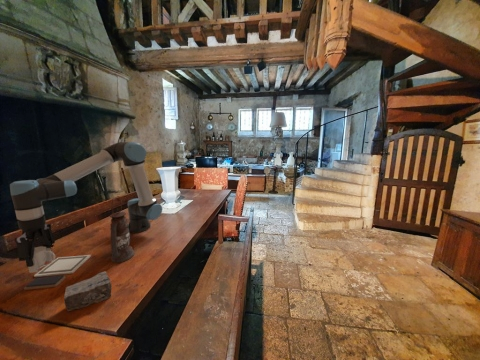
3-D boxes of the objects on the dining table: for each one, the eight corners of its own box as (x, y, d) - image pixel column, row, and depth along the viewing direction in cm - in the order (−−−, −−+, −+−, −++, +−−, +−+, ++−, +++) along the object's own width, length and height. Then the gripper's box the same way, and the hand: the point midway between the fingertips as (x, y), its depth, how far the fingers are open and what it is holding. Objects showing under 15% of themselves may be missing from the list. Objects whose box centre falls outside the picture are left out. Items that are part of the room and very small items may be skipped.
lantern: (103, 266, 93) (94, 202, 86) (120, 248, 108) (113, 193, 102) (126, 265, 94) (118, 201, 87) (139, 247, 110) (133, 192, 103)
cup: (33, 263, 81) (30, 247, 80) (61, 260, 84) (58, 244, 83) (20, 273, 75) (16, 256, 73) (50, 269, 78) (47, 252, 76)
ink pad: (65, 277, 85) (65, 274, 84) (56, 286, 79) (55, 283, 79) (36, 280, 83) (35, 277, 82) (24, 289, 77) (23, 286, 77)
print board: (90, 256, 101) (90, 254, 101) (72, 273, 88) (72, 271, 87) (58, 258, 98) (57, 257, 98) (34, 277, 85) (33, 275, 85)
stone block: (111, 284, 81) (109, 269, 80) (113, 297, 75) (110, 281, 73) (69, 300, 73) (65, 283, 71) (66, 316, 66) (62, 298, 64)
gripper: (41, 209, 84) (50, 254, 88) (-7, 228, 65) (7, 283, 69) (60, 208, 85) (68, 252, 89) (17, 227, 66) (30, 281, 70)
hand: (41, 266), depth 79 cm, fingers closed on cup, 6 cm apart
